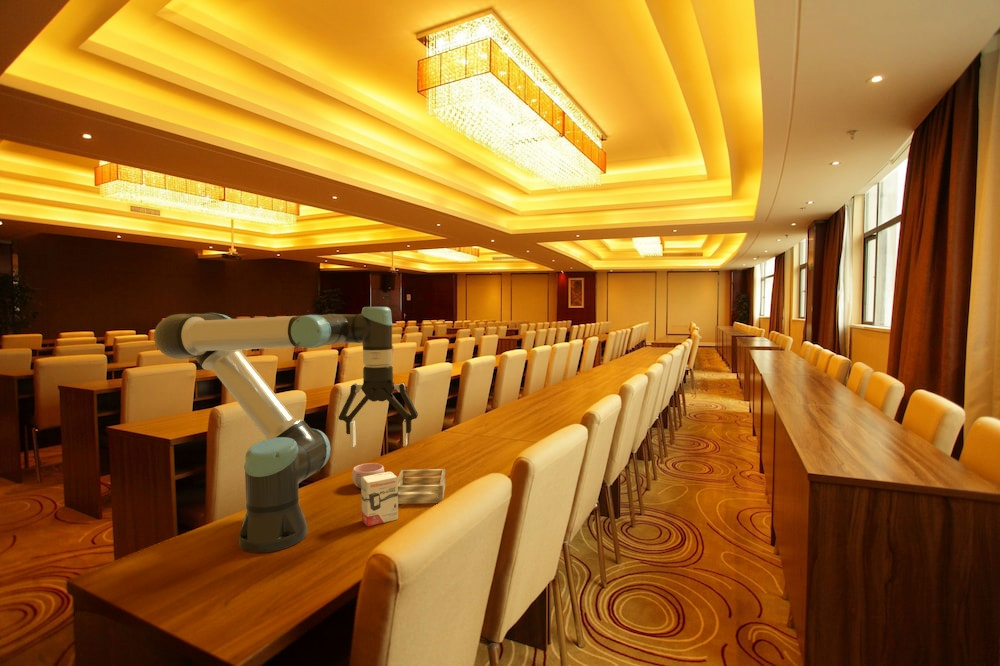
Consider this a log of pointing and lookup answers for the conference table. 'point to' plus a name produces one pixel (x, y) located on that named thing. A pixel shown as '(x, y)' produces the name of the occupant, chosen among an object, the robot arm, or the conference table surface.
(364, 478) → the ink box
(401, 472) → the crate
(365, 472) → the pink bowl
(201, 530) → the conference table surface
